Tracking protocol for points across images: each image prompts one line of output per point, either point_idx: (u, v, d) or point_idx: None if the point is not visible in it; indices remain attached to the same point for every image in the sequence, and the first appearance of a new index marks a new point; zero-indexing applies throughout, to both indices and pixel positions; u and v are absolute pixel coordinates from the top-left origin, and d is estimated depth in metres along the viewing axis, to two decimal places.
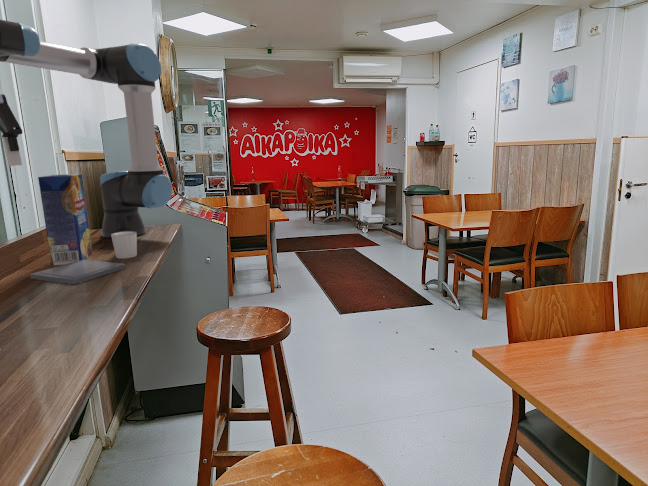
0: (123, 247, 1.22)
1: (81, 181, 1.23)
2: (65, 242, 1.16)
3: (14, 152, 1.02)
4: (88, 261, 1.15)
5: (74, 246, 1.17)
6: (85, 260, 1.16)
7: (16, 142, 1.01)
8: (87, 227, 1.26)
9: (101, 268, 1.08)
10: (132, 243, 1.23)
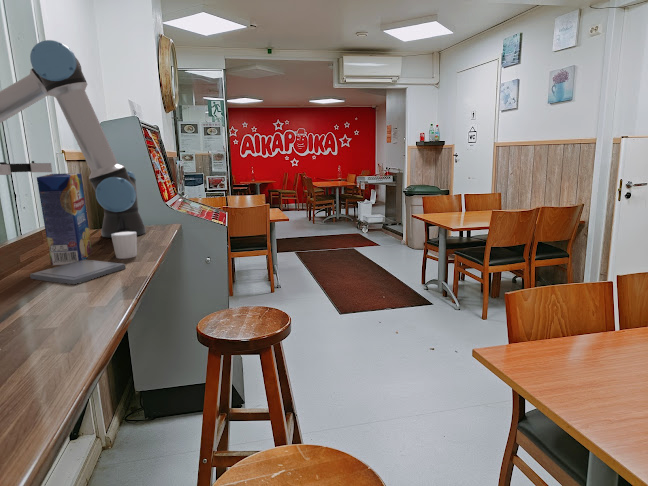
0: (123, 247, 1.22)
1: (80, 180, 1.22)
2: (65, 242, 1.16)
3: None
4: (88, 261, 1.15)
5: (73, 246, 1.16)
6: (85, 260, 1.16)
7: None
8: (87, 226, 1.26)
9: (101, 268, 1.08)
10: (132, 243, 1.23)
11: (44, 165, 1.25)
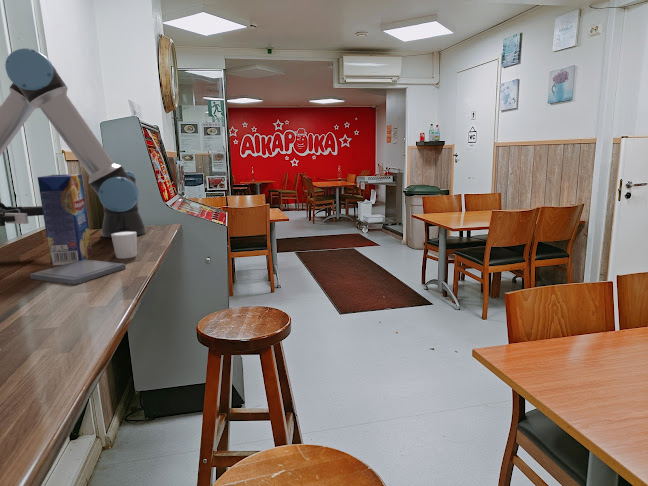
0: (123, 247, 1.22)
1: (81, 181, 1.23)
2: (65, 242, 1.16)
3: (15, 217, 1.14)
4: (88, 261, 1.15)
5: (73, 246, 1.17)
6: (85, 260, 1.16)
7: (4, 217, 1.13)
8: (87, 227, 1.26)
9: (101, 268, 1.08)
10: (132, 243, 1.23)
11: None
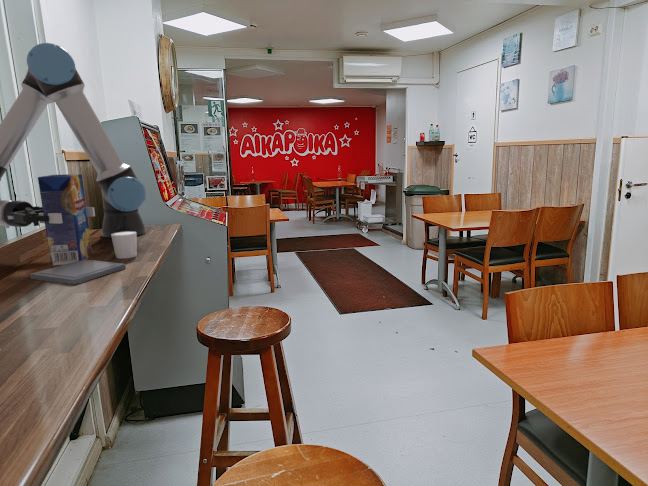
0: (123, 247, 1.22)
1: (81, 181, 1.23)
2: (65, 242, 1.16)
3: (50, 217, 1.13)
4: (88, 261, 1.15)
5: (74, 246, 1.17)
6: (85, 260, 1.16)
7: (39, 217, 1.13)
8: (87, 227, 1.26)
9: (101, 268, 1.08)
10: (132, 243, 1.23)
11: (87, 209, 1.25)
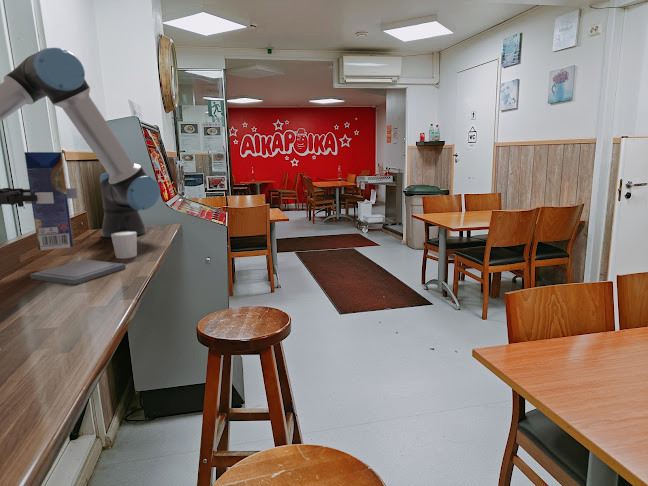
0: (123, 247, 1.22)
1: (62, 160, 1.14)
2: (55, 224, 1.07)
3: (38, 197, 1.04)
4: (88, 261, 1.15)
5: (64, 228, 1.08)
6: (85, 260, 1.16)
7: (25, 196, 1.02)
8: None
9: (101, 268, 1.08)
10: (132, 243, 1.23)
11: (70, 191, 1.15)
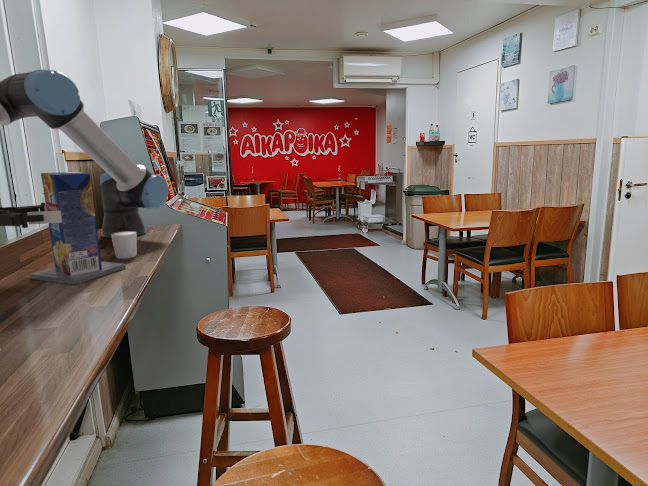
0: (123, 247, 1.22)
1: None
2: (84, 248, 1.03)
3: (45, 216, 0.97)
4: None
5: (94, 251, 1.04)
6: None
7: (31, 217, 0.95)
8: None
9: None
10: (132, 243, 1.23)
11: None
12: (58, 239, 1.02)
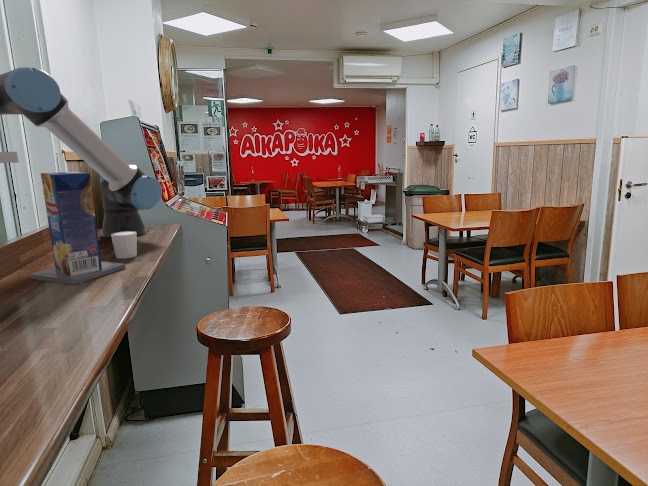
0: (123, 247, 1.22)
1: None
2: (84, 248, 1.03)
3: None
4: None
5: (94, 251, 1.04)
6: None
7: None
8: None
9: None
10: (132, 243, 1.23)
11: (8, 154, 1.08)
12: (58, 239, 1.02)
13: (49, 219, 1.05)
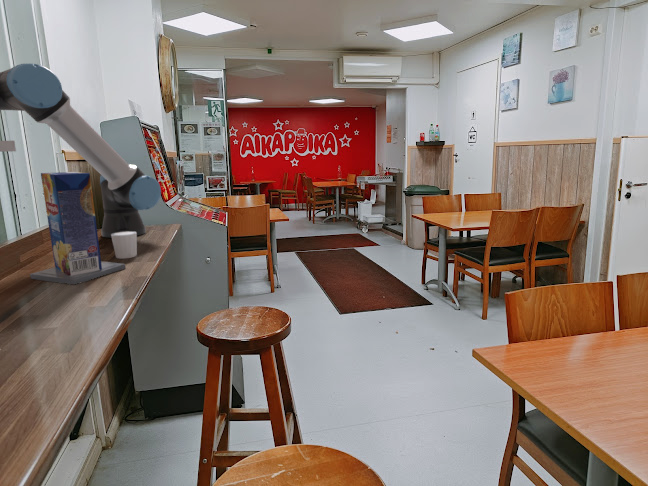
0: (123, 247, 1.22)
1: None
2: (84, 248, 1.03)
3: None
4: None
5: (94, 251, 1.04)
6: None
7: None
8: None
9: None
10: (132, 243, 1.23)
11: (6, 143, 1.08)
12: (58, 239, 1.02)
13: (49, 219, 1.05)
